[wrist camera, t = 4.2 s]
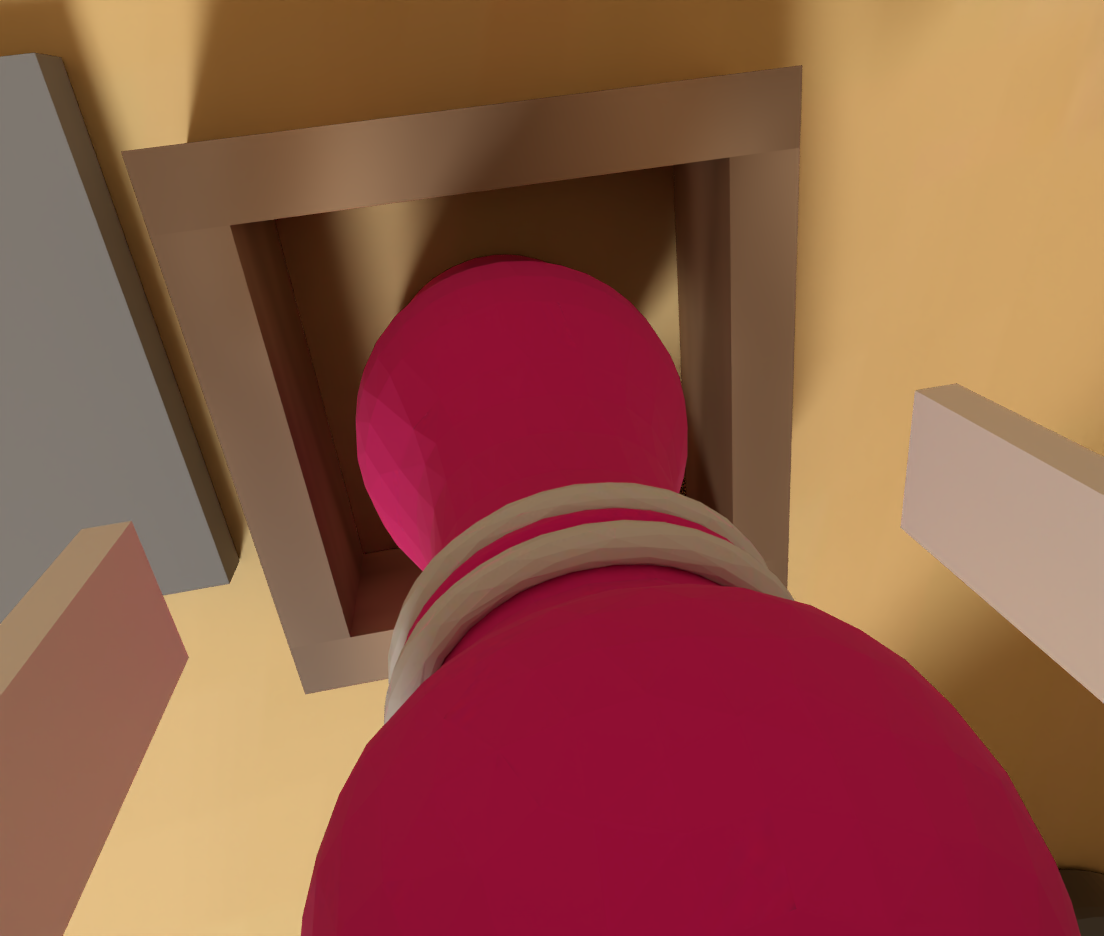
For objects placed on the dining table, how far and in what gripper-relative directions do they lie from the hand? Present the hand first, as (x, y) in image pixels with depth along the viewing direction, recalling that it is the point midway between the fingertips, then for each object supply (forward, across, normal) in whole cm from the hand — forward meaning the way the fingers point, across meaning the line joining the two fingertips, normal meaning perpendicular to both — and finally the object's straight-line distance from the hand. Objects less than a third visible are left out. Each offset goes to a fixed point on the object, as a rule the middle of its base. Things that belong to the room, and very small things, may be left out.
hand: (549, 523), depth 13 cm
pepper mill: (+9, 0, 0) cm, 9 cm away
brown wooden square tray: (+9, 0, 0) cm, 9 cm away
